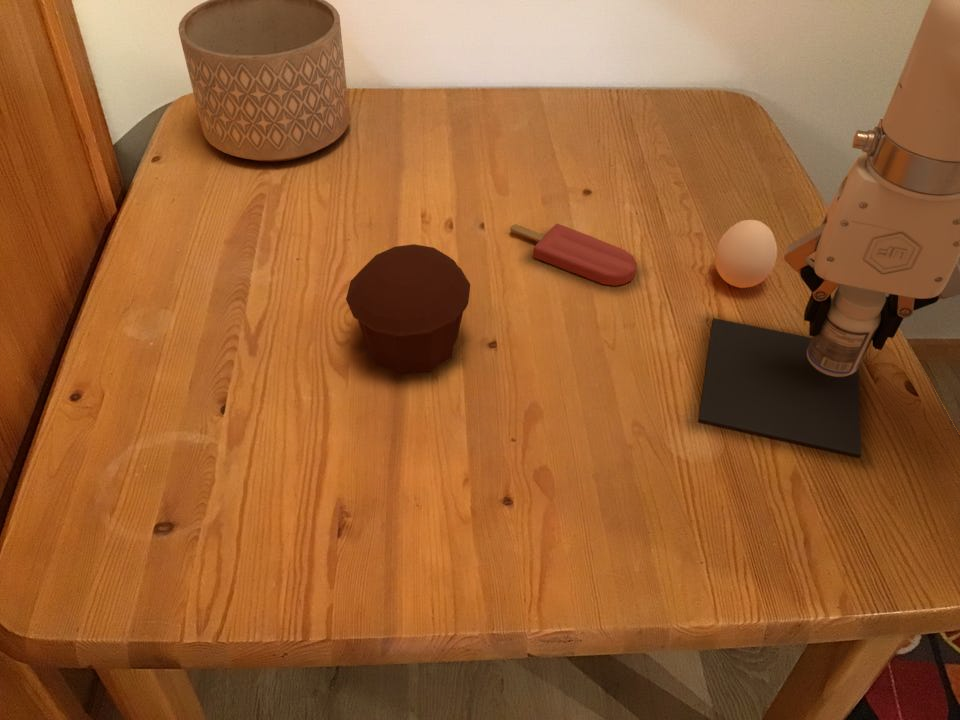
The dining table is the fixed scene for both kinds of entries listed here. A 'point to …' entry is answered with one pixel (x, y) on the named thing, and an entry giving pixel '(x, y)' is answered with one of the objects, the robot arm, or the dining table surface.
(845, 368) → the pill bottle
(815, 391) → the slate mat
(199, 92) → the planter
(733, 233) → the egg
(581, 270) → the popsicle
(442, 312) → the muffin
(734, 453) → the dining table surface
